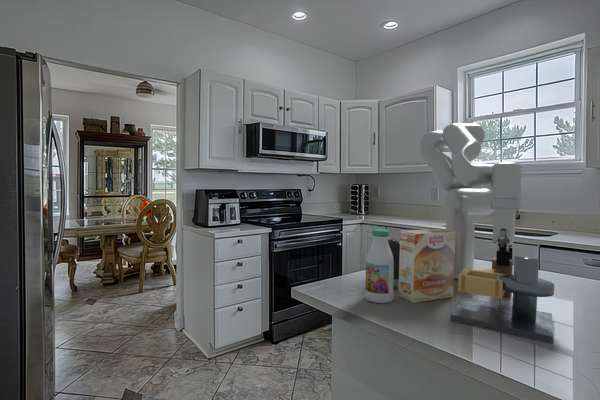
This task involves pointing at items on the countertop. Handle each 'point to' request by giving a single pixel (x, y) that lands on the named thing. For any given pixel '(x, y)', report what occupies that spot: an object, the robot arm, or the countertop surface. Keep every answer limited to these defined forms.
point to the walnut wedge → (503, 270)
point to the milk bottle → (379, 269)
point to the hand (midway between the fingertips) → (504, 263)
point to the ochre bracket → (481, 282)
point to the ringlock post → (513, 305)
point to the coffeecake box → (426, 264)
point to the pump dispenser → (395, 260)
